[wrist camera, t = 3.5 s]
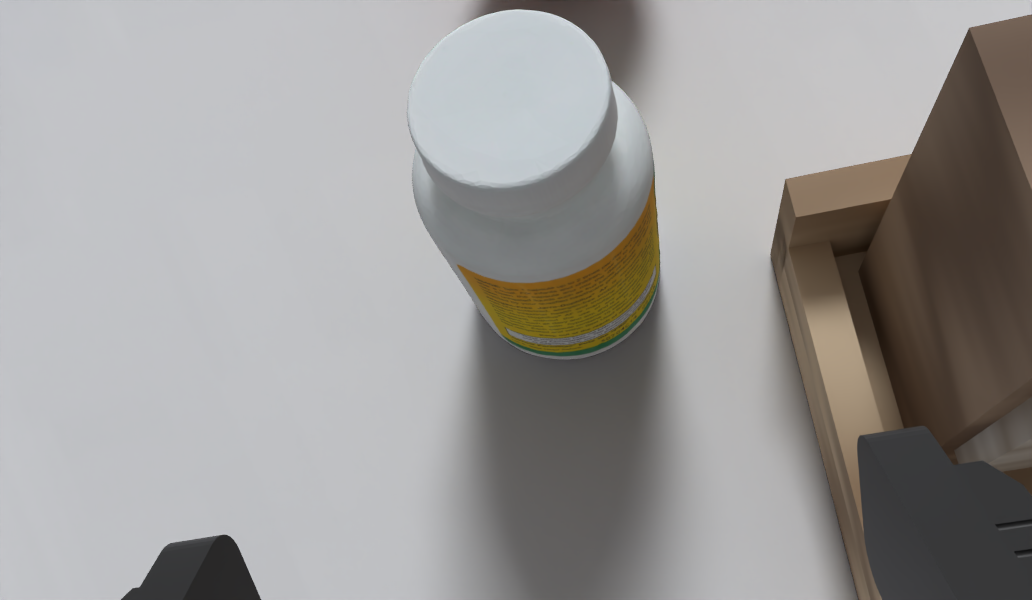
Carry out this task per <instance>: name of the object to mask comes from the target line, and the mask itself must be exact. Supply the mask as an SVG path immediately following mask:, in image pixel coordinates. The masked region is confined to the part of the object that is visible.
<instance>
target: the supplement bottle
mask: <svg viewBox="0 0 1032 600" xmlns="http://www.w3.org/2000/svg"><path fill="white" fill-rule="evenodd" d="M407 118H408V126H409V130H410V133H411V137H412V140H413V142H414V144H415V147H416V150H415V154H414V161H413V169H412V183H413V192H414V198H415V202H416V206H417V209H418V212H419V214H420V217H421V219H422V221H423V223H424V225H425V227H426V229H427V231H428V232H429V234H430V236H431V237H432V239H433V241H434V242H435V244H436V245H437V247H438V248H439V250H440V251H441V253H442V254H443V256H444V257H445V259H446V260H447V262H448V263H449V265H450V266H451V268H452V270H453V271H454V272H455V274H456V275H457V277H458V278H459V280H460V281H461V283H462V284H463V286H464V288H465V289H466V291H467V292H468V294H469V295H470V297H471V298H472V300H473V301H474V303H475V304H476V306H477V308H478V309H479V311H480V313H481V314H482V315H483V317H484V318H485V319H486V321H487V322H488V323H489V325H490V326H491V327H492V328H493V330H494V331H495V332H496V333H497V334H498V335H499V336H500V337H501V338H503V339H504V340H505V341H507V342H508V343H510V344H511V345H513V346H514V347H516V348H517V349H519V350H521V351H523V352H526V353H528V354H531V355H535V356H539V357H544V358H551V359H579V358H585V357H589V356H593V355H596V354H599V353H602V352H604V351H606V350H608V349H610V348H612V347H614V346H615V345H617V344H619V343H620V342H622V341H623V340H624V339H626V338H627V337H628V336H629V335H630V334H631V333H632V332H633V331H634V330H636V329H637V328H638V327H639V326H640V324H641V323H642V322H643V320H644V319H645V317H646V316H647V314H648V312H649V310H650V309H651V306H652V304H653V301H654V299H655V296H656V292H657V288H658V284H659V276H660V249H659V234H658V222H657V208H656V196H655V172H654V160H653V154H652V147H651V142H650V138H649V134H648V131H647V128H646V125H645V123H644V121H643V119H642V117H641V115H640V113H639V111H638V110H637V108H636V106H635V105H634V103H633V102H632V101H631V99H630V98H629V97H628V96H627V95H626V94H625V92H624V91H623V90H622V89H621V88H620V87H619V86H617V85H616V84H615V83H614V82H613V81H611V76H610V72H609V69H608V67H607V64H606V62H605V60H604V57H603V55H602V53H601V51H600V50H599V48H598V47H597V45H596V44H595V42H594V41H593V40H592V39H591V38H590V37H589V36H588V35H587V34H586V33H585V32H584V31H583V30H582V29H580V28H579V27H577V26H576V25H574V24H573V23H571V22H569V21H567V20H566V19H563V18H561V17H559V16H556V15H553V14H550V13H546V12H541V11H533V10H521V9H515V10H505V11H499V12H495V13H491V14H487V15H484V16H481V17H479V18H477V19H474V20H472V21H470V22H468V23H466V24H464V25H462V26H460V27H459V28H457V29H455V30H454V31H453V32H451V33H450V34H448V35H447V36H446V37H444V38H443V39H442V40H441V41H440V42H439V43H438V44H437V45H436V46H435V47H434V48H433V49H432V50H431V51H430V53H429V54H428V55H427V56H426V57H425V59H424V60H423V62H422V63H421V65H420V67H419V69H418V71H417V73H416V75H415V77H414V79H413V81H412V84H411V87H410V91H409V96H408V104H407Z"/></svg>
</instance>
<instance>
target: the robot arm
mask: <svg viewBox="0 0 1032 600" xmlns="http://www.w3.org/2000/svg"><path fill="white" fill-rule="evenodd" d="M857 456H858V468H859V480H860V492H861V504H862V517H863V529H864V539H865V546H866V551H867V556H868V560H869V564H870V568H871V571H872V575H873V578H874V581H875V584H876V586H877V589H878V591H879V594H880V596H881V598H882V600H1032V496H1031V494H1030V493H1029V492H1028V490H1027V489H1026V488H1025V487H1024V485H1023V484H1021V483H1019V482H1018V481H1016V480H1014V479H1013V478H1011V477H1009V476H1008V475H1006V474H1004V473H1003V472H1001V471H999V470H998V469H996V468H994V467H993V466H991V465H989V464H988V463H986V462H984V461H983V460H982V461H976V462H969V463H963V464H956V465H953V463H952V462H951V461H950V459H949V458H948V456H947V455H946V453H945V452H944V450H943V449H942V448H941V446H940V445H939V443H938V442H937V440H936V439H935V437H934V436H933V435H932V433H931V432H930V431H929V429H928V428H927V427H925V426H916V427H910V428H904V429H898V430H891V431H885V432H879V433H872V434H866V435H860V436H859V437H858V441H857ZM121 600H261V599H260V596H259V594H258V592H257V589H256V587H255V585H254V582H253V580H252V578H251V576H250V573H249V571H248V569H247V566H246V564H245V562H244V559H243V557H242V555H241V552H240V550H239V548H238V546H237V544H236V543H235V541H234V540H233V539H232V538H231V537H229V536H228V535H219V536H213V537H207V538H200V539H194V540H188V541H182V542H175V543H170V544H168V545H167V546H166V547H165V548H164V549H163V550H162V551H161V553H160V555H159V556H158V558H157V560H156V561H155V563H154V565H153V566H152V568H151V570H150V571H149V573H148V575H147V576H146V578H145V580H144V581H143V583H142V585H141V586H140V587H139V588H133V589H132V590H131V591H129V592H128V593H127V594H126V595H125V596H124V597H123V598H122V599H121Z"/></svg>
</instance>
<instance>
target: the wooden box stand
mask: <svg viewBox="0 0 1032 600" xmlns="http://www.w3.org/2000/svg"><path fill="white" fill-rule="evenodd" d="M770 255H771V259H772V263H773V266H774V270H775V274H776V278H777V282H778V286H779V290H780V294H781V298H782V302H783V306H784V310H785V313H786V317H787V321H788V325H789V329H790V333H791V337H792V341H793V345H794V349H795V353H796V356H797V360H798V364H799V368H800V372H801V376H802V380H803V384H804V388H805V392H806V396H807V400H808V403H809V407H810V411H811V415H812V419H813V423H814V427H815V431H816V435H817V439H818V443H819V447H820V450H821V454H822V458H823V462H824V466H825V470H826V474H827V478H828V482H829V486H830V490H831V493H832V497H833V501H834V505H835V509H836V513H837V517H838V521H839V525H840V529H841V533H842V537H843V540H844V544H845V548H846V552H847V556H848V560H849V564H850V568H851V572H852V576H853V580H854V584H855V587H856V591H857V595H858V599H859V600H882V598H881V596H880V594H879V591H878V589H877V586H876V584H875V581H874V578H873V575H872V571H871V568H870V564H869V560H868V556H867V551H866V546H865V539H864V529H863V517H862V504H861V492H860V480H859V468H858V456H857V441H858V437H859V436H860V435H866V434H872V433H879V432H885V431H891V430H898V429H904V428H910V427H916V426H925V427H927V428H928V429H929V431H930V432H931V433H932V435H933V436H934V437H935V439H936V440H937V442H938V443H939V445H940V446H941V448H942V449H943V450H944V452H945V453H946V455H947V456H948V458H949V459H950V461H951V462H952V463H953V465H956V464H963V463H969V462H976V461H982V460H983V461H984V462H986V463H988V464H989V465H991V466H993V467H994V468H996V469H998V470H999V471H1001V472H1003V473H1004V474H1006V475H1008V476H1009V477H1011V478H1013V479H1014V480H1016V481H1018V482H1019V483H1021V484H1023V485H1024V487H1025V488H1026V489H1027V490H1028V492H1029V493H1030V494H1031V496H1032V15H1027V16H1023V17H1018V18H1013V19H1009V20H1004V21H999V22H995V23H990V24H985V25H981V26H976V27H971V28H969V30H968V32H967V34H966V36H965V38H964V41H963V43H962V45H961V47H960V49H959V52H958V54H957V56H956V58H955V60H954V63H953V65H952V67H951V69H950V71H949V74H948V76H947V78H946V80H945V82H944V84H943V87H942V89H941V91H940V93H939V95H938V98H937V100H936V102H935V104H934V106H933V109H932V111H931V113H930V115H929V117H928V120H927V122H926V124H925V126H924V128H923V130H922V133H921V135H920V137H919V139H918V141H917V144H916V146H915V148H914V150H913V152H912V154H910V155H905V156H900V157H895V158H890V159H885V160H880V161H875V162H869V163H864V164H859V165H854V166H849V167H844V168H839V169H834V170H829V171H824V172H819V173H814V174H809V175H804V176H799V177H794V178H789V179H786V180H785V185H784V190H783V195H782V199H781V204H780V209H779V214H778V219H777V224H776V229H775V234H774V239H773V244H772V249H771V254H770Z"/></svg>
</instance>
